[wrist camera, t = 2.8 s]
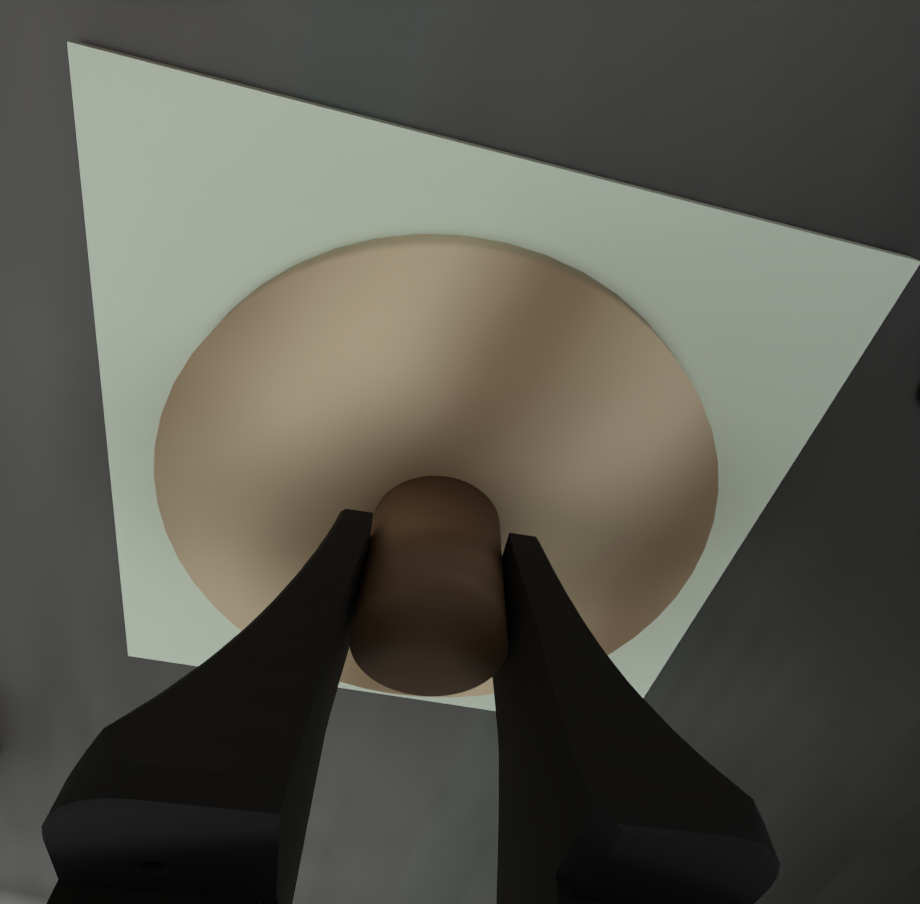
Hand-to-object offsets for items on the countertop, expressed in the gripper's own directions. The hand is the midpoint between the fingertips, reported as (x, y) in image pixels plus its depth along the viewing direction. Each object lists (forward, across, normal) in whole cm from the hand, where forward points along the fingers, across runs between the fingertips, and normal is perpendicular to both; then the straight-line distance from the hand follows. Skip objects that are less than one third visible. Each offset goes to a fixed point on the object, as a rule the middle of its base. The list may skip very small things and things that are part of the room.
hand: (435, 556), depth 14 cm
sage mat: (+2, 0, 0) cm, 2 cm away
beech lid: (+2, 0, 0) cm, 2 cm away
